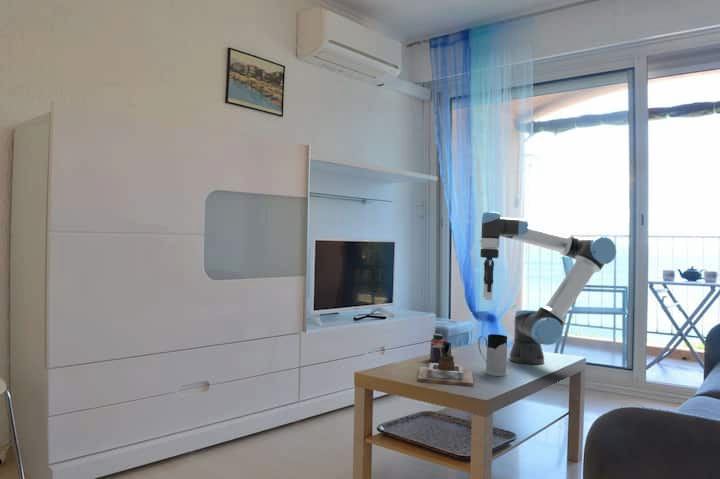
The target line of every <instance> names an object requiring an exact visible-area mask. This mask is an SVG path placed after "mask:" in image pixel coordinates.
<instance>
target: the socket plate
mask: <svg viewBox="0 0 720 479" xmlns="http://www.w3.org/2000/svg"><path fill="white" fill-rule="evenodd" d="M438 367H439V364H437V363H433V362H429V366H420V367H419V372H418V375H417V382H420V383H431V384H441V385H452V386H453V385H455V386H463V387H466V386H467V387H474V379H473V373H472V370H467V369H463V365H458V364H454V371H446V370H438Z"/></svg>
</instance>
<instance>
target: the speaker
mask: <svg viewBox="0 0 720 479" xmlns="http://www.w3.org/2000/svg"><path fill="white" fill-rule="evenodd" d="M440 347H441V352H442V355H448V354H449V353H450V354H449V355H452V350H451V349H452V345H451V342H449V341H446V340H444V339H443V344H440ZM440 347H439V344H435V345H433V346H432V352H433V360H432V361H433V362H432V363H437V364H439V360H440V355H441V352H440ZM450 348H451V349H450ZM449 349H450V350H449ZM448 351H449V352H448Z"/></svg>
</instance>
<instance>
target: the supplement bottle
mask: <svg viewBox="0 0 720 479" xmlns="http://www.w3.org/2000/svg"><path fill="white" fill-rule="evenodd" d="M443 340H444V337H443V334H441V333H433V338H431V340H430V353H429V359H430V360H431V361H433V352H432V346H433V345H435V344H439V343H440V344H443Z"/></svg>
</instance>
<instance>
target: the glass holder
mask: <svg viewBox="0 0 720 479" xmlns="http://www.w3.org/2000/svg"><path fill="white" fill-rule="evenodd" d="M482 337H483V338H484V340H485V346H486V357H485V356H484V354H483V352H482V349H481V346H480V345H481V344H480V340H481V338H482ZM477 346H478V350H479V354H480V355H481V357H482V359H483V360H484V361H485V370H484V373H485V374H487V375H489V376H497V377H506V376H507V375H508V373H507V363H508V362H507V358H508V357H507V356H508V336H506V335H503V334H495V333H493V334H488V335H487V337H486V336H485V335H480V336H479V337H478V340H477Z"/></svg>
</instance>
